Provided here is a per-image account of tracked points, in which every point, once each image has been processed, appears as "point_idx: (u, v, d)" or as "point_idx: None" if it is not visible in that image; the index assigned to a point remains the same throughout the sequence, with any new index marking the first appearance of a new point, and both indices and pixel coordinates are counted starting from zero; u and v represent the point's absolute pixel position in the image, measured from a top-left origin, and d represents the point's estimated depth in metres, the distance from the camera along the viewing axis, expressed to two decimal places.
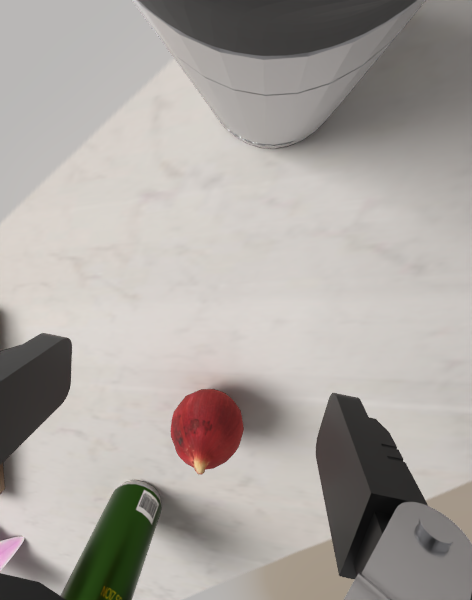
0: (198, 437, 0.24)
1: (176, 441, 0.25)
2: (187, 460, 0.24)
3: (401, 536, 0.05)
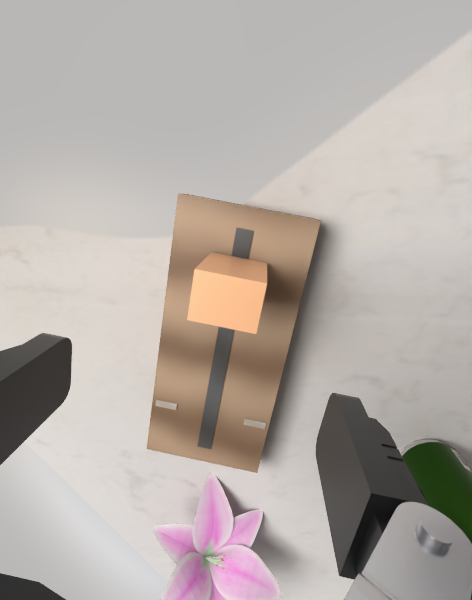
0: None
1: None
2: None
3: (401, 536, 0.05)
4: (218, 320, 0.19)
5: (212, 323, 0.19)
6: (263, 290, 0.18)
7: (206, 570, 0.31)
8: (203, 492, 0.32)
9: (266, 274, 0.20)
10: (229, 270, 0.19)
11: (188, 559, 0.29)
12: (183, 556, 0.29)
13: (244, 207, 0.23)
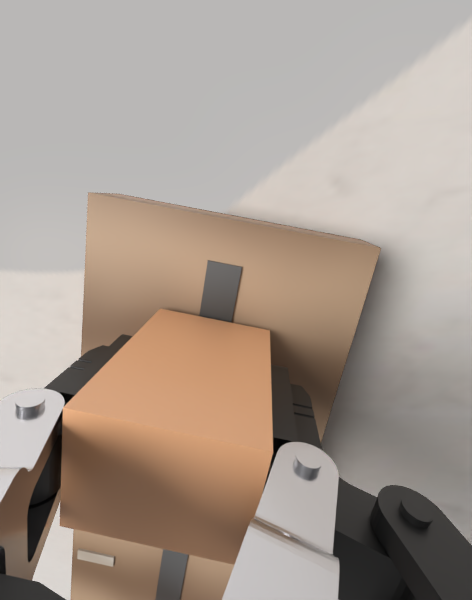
0: None
1: None
2: None
3: (276, 464, 0.06)
4: (141, 531, 0.07)
5: (126, 538, 0.07)
6: (263, 467, 0.06)
7: None
8: None
9: (269, 387, 0.08)
10: (174, 389, 0.07)
11: None
12: None
13: (223, 220, 0.11)
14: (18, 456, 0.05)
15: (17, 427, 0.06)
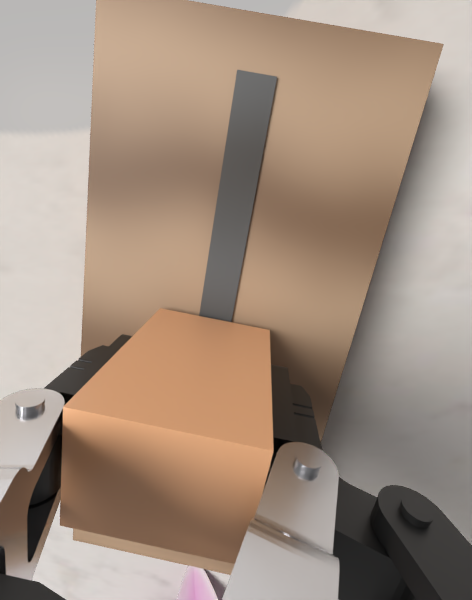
0: None
1: None
2: None
3: (276, 464, 0.06)
4: (141, 530, 0.07)
5: (126, 537, 0.07)
6: (263, 466, 0.06)
7: None
8: None
9: (269, 386, 0.08)
10: (174, 388, 0.07)
11: None
12: None
13: (256, 15, 0.09)
14: (18, 456, 0.05)
15: (17, 427, 0.06)
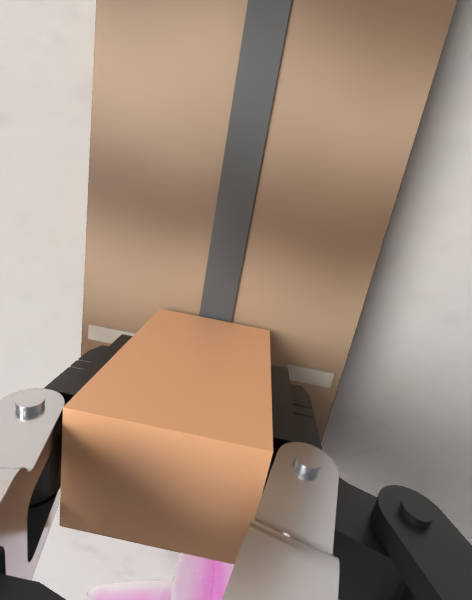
0: None
1: None
2: None
3: (277, 464, 0.06)
4: (141, 531, 0.07)
5: (126, 537, 0.07)
6: (263, 467, 0.06)
7: None
8: None
9: (269, 386, 0.08)
10: (174, 388, 0.07)
11: None
12: None
13: None
14: (18, 456, 0.05)
15: (17, 427, 0.06)
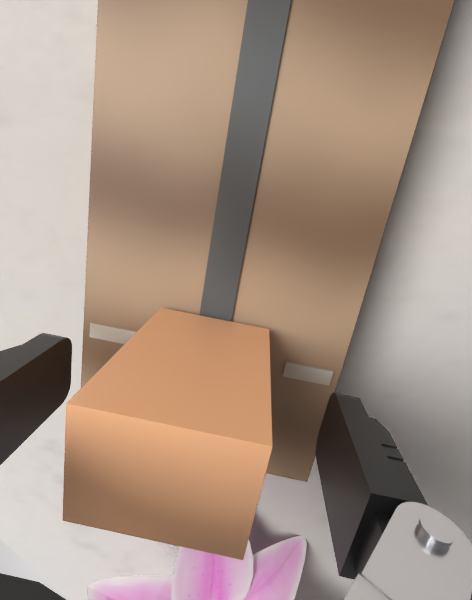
0: None
1: None
2: None
3: (401, 536, 0.05)
4: (143, 525, 0.07)
5: (128, 532, 0.07)
6: (262, 461, 0.06)
7: None
8: None
9: (268, 384, 0.08)
10: (175, 385, 0.08)
11: None
12: None
13: None
14: None
15: None
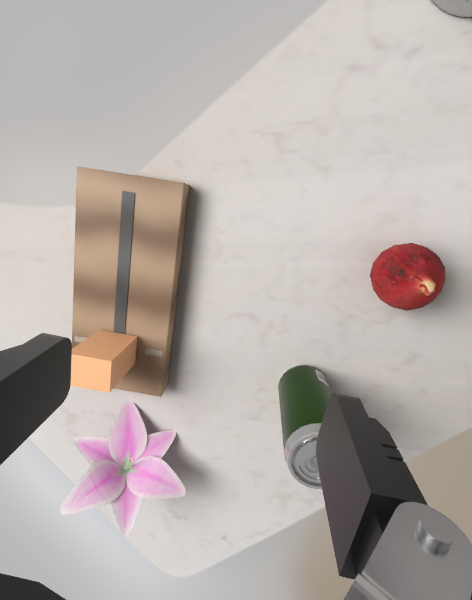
0: (421, 264, 0.26)
1: (394, 276, 0.27)
2: (409, 289, 0.27)
3: (401, 536, 0.05)
4: (84, 384, 0.29)
5: (81, 386, 0.29)
6: (110, 365, 0.28)
7: (122, 476, 0.37)
8: (120, 413, 0.38)
9: (121, 350, 0.30)
10: (93, 350, 0.30)
11: (104, 464, 0.35)
12: (99, 461, 0.35)
13: (126, 175, 0.30)
14: None
15: None
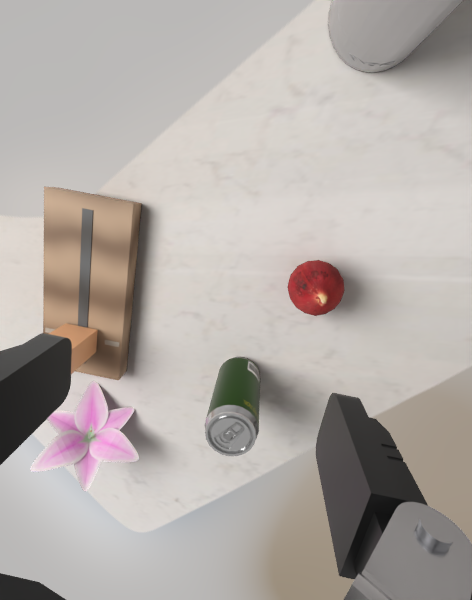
0: (319, 280, 0.33)
1: (299, 288, 0.34)
2: (310, 300, 0.33)
3: (401, 536, 0.05)
4: None
5: None
6: None
7: (86, 444, 0.44)
8: (85, 392, 0.45)
9: (80, 342, 0.37)
10: None
11: (69, 433, 0.42)
12: (65, 430, 0.42)
13: (85, 195, 0.36)
14: None
15: None
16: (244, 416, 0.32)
